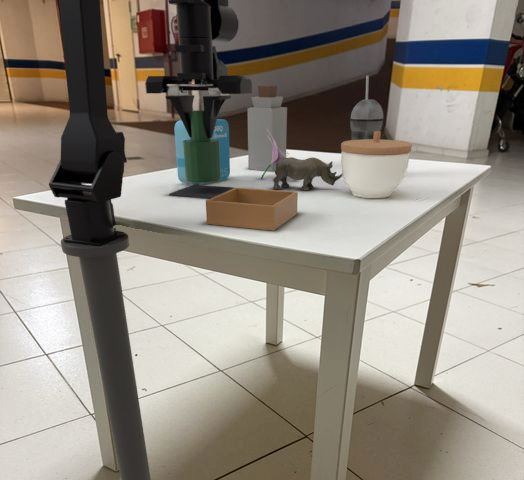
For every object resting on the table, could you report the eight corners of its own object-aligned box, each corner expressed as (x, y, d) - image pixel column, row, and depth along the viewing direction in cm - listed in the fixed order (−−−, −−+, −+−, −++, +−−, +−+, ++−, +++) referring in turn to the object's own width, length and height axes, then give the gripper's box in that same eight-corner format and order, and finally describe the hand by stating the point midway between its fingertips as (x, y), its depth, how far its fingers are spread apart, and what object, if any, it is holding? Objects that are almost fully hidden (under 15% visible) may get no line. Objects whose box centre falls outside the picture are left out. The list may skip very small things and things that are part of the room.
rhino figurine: (341, 192, 97) (343, 159, 94) (271, 190, 99) (272, 158, 96) (341, 188, 100) (344, 156, 97) (274, 186, 102) (274, 155, 99)
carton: (274, 230, 72) (274, 206, 71) (206, 224, 76) (205, 200, 74) (297, 213, 81) (297, 191, 79) (236, 208, 85) (235, 187, 83)
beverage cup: (384, 174, 114) (394, 75, 104) (366, 179, 109) (376, 75, 99) (357, 171, 118) (365, 75, 108) (339, 175, 113) (346, 75, 104)
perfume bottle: (271, 171, 119) (272, 86, 110) (248, 168, 122) (247, 86, 113) (285, 167, 124) (287, 85, 115) (263, 165, 127) (262, 85, 118)
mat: (216, 199, 91) (215, 197, 91) (168, 195, 94) (168, 193, 94) (238, 189, 99) (237, 187, 99) (193, 186, 103) (193, 184, 103)
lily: (280, 191, 103) (303, 147, 100) (234, 164, 105) (256, 120, 102) (296, 198, 114) (317, 159, 111) (254, 173, 116) (274, 134, 113)
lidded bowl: (363, 185, 102) (368, 127, 97) (417, 194, 94) (427, 131, 89) (324, 194, 94) (327, 131, 89) (380, 205, 87) (387, 136, 81)
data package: (193, 185, 101) (189, 121, 96) (177, 183, 103) (173, 120, 98) (230, 178, 110) (229, 119, 104) (215, 176, 112) (212, 118, 107)
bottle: (211, 183, 92) (207, 112, 86) (180, 181, 94) (174, 111, 88) (226, 177, 97) (223, 110, 92) (196, 175, 100) (192, 109, 94)
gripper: (263, 40, 88) (263, 135, 96) (172, 43, 94) (178, 132, 102) (237, 35, 79) (240, 141, 87) (138, 39, 85) (148, 137, 93)
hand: (200, 137), depth 92 cm, fingers closed on bottle, 3 cm apart
